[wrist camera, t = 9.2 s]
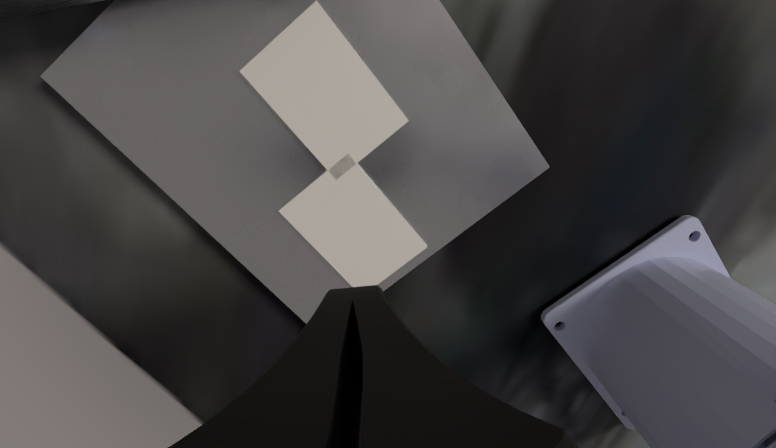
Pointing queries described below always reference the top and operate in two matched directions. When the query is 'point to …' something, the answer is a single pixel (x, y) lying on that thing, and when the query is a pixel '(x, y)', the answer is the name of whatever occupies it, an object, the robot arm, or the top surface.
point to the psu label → (324, 90)
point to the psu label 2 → (353, 225)
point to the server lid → (276, 140)
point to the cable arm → (35, 7)
